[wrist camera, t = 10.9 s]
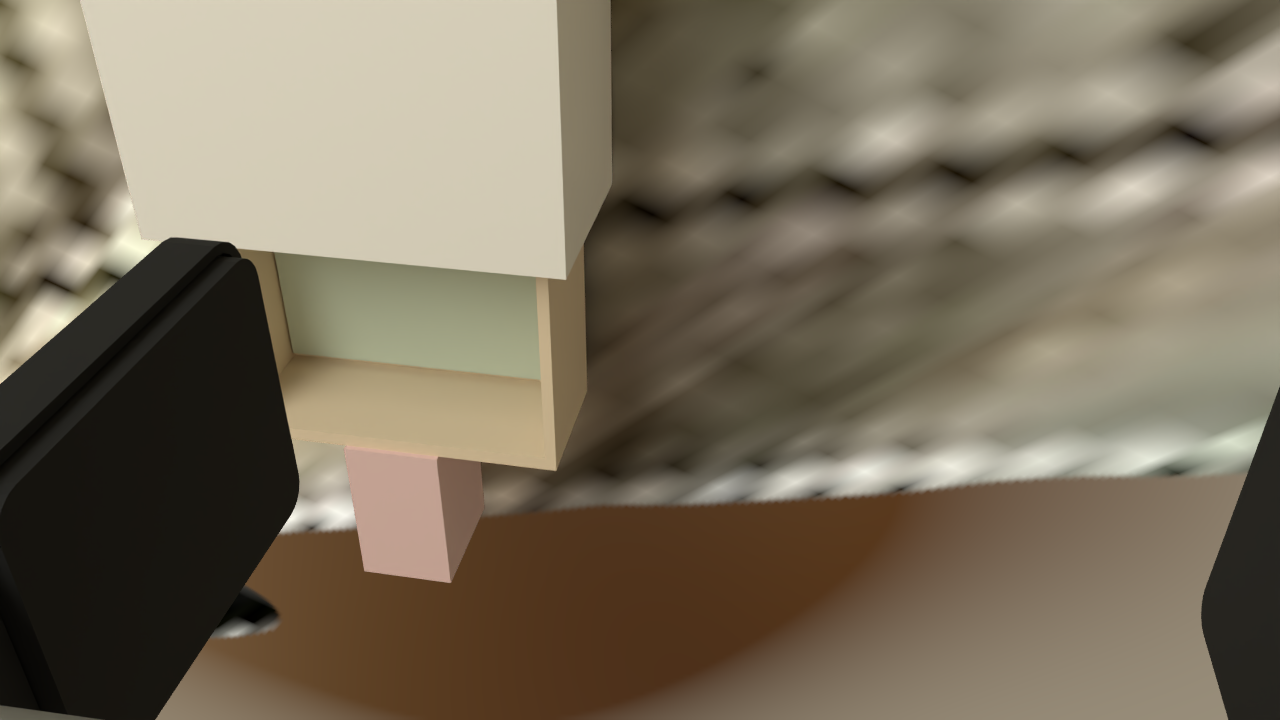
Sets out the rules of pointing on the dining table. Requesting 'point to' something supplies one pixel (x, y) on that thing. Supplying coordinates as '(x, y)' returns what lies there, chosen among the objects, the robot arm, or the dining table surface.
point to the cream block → (364, 125)
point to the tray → (424, 387)
